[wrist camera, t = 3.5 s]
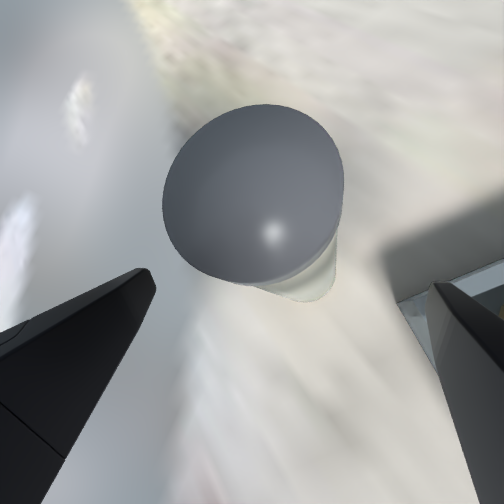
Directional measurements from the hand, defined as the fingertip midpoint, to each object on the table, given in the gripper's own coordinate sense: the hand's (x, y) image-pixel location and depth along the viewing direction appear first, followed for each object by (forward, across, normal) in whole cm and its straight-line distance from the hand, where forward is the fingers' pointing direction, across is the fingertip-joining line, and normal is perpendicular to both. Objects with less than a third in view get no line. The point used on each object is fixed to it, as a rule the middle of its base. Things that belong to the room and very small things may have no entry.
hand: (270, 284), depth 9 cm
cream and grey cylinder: (+8, 0, +5) cm, 9 cm away
